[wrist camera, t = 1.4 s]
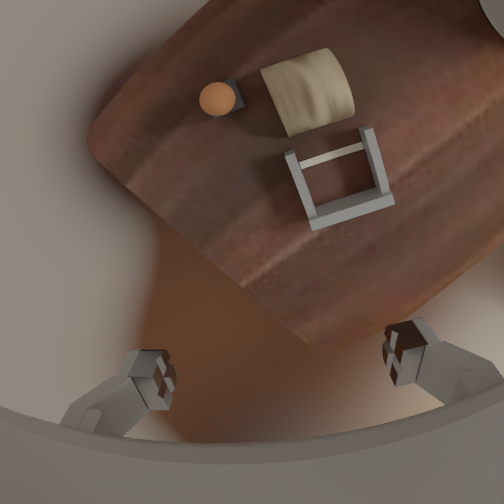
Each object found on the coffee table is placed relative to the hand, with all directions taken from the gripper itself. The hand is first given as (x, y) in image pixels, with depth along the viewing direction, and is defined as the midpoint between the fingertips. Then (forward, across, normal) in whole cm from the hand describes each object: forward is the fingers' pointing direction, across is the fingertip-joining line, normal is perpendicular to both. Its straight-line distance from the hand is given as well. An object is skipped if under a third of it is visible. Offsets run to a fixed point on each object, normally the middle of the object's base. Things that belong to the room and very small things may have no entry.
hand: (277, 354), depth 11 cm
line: (+32, -10, -4) cm, 33 cm away
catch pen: (+32, -10, -1) cm, 33 cm away
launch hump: (+37, -8, -13) cm, 40 cm away
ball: (+26, +4, -12) cm, 29 cm away
